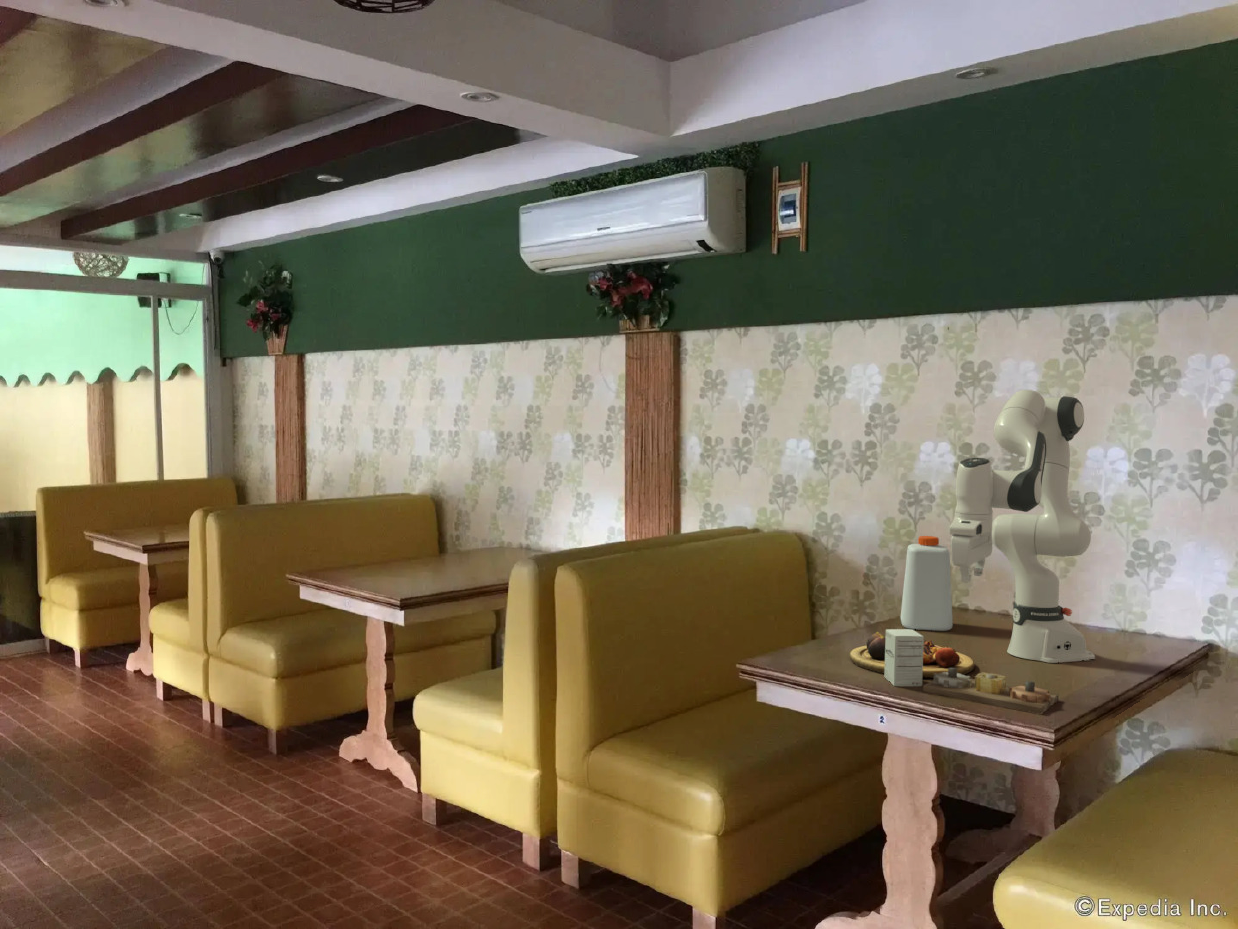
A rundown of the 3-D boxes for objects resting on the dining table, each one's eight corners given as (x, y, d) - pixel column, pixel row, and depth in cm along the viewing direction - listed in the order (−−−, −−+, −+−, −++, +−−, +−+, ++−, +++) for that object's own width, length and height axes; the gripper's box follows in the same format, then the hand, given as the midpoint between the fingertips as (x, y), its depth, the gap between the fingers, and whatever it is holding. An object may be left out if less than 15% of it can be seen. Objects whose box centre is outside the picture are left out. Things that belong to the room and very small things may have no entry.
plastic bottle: (948, 622, 316) (951, 535, 315) (953, 632, 302) (956, 541, 300) (899, 619, 320) (902, 533, 318) (902, 629, 305) (904, 539, 303)
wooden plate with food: (999, 677, 253) (1000, 645, 253) (885, 682, 246) (886, 649, 245) (932, 650, 284) (933, 621, 284) (829, 653, 277) (830, 624, 276)
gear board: (944, 679, 249) (944, 660, 248) (1058, 700, 232) (1059, 679, 232) (923, 691, 238) (923, 671, 237) (1040, 714, 221) (1041, 692, 221)
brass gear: (981, 684, 239) (981, 671, 239) (1006, 689, 235) (1007, 676, 235) (972, 690, 234) (973, 676, 234) (998, 695, 231) (999, 681, 230)
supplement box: (883, 678, 249) (884, 628, 249) (912, 678, 250) (913, 628, 249) (893, 686, 242) (894, 635, 241) (923, 686, 242) (924, 635, 242)
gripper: (974, 517, 256) (973, 570, 258) (946, 528, 240) (945, 584, 241) (999, 519, 252) (998, 573, 254) (972, 530, 236) (971, 587, 238)
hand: (972, 578), depth 247 cm, fingers open, 8 cm apart
